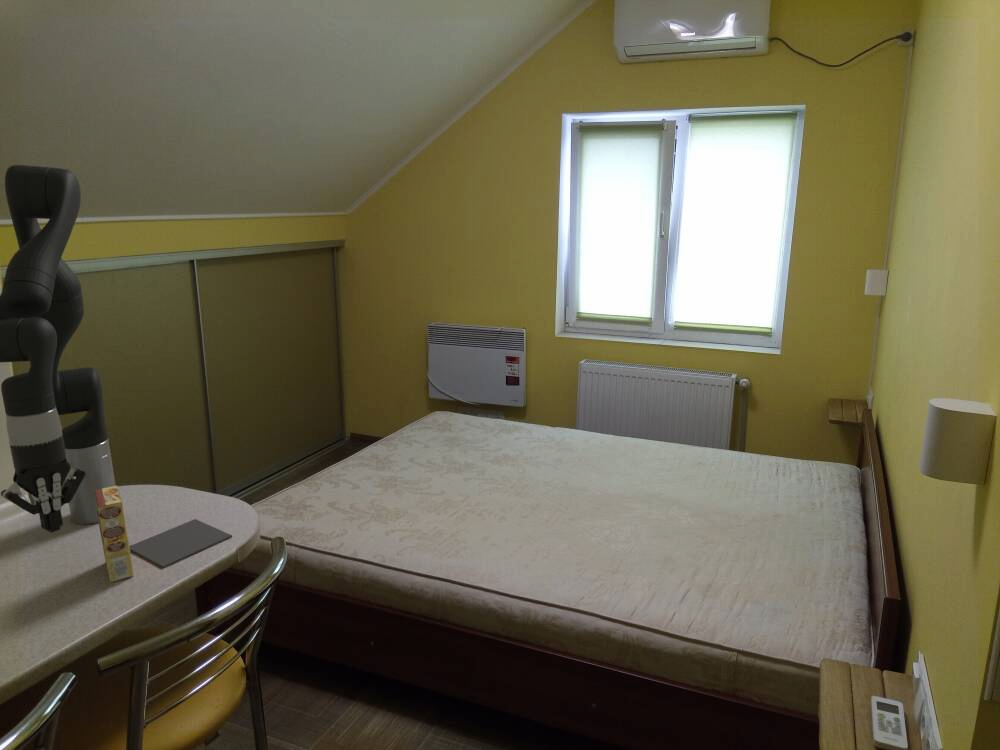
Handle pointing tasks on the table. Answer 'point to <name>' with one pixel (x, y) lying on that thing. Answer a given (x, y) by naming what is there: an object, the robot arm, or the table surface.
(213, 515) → the table surface
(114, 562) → the candy box
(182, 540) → the mat
